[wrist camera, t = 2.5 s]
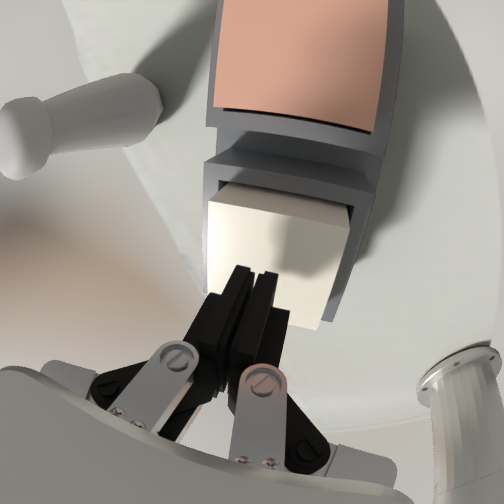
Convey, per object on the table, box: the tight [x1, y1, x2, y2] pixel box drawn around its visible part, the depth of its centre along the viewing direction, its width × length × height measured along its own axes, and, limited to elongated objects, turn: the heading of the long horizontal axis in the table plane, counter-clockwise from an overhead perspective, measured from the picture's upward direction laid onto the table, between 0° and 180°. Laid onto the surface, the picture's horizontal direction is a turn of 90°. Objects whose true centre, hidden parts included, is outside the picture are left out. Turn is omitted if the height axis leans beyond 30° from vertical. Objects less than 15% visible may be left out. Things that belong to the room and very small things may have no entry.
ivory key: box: [207, 182, 350, 330], centre depth 14 cm, size 6×6×4 cm
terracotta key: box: [213, 0, 388, 132], centre depth 9 cm, size 6×6×4 cm
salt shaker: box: [0, 73, 164, 180], centre depth 14 cm, size 6×6×13 cm
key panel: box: [202, 0, 404, 322], centre depth 15 cm, size 20×10×7 cm, turn 174°
